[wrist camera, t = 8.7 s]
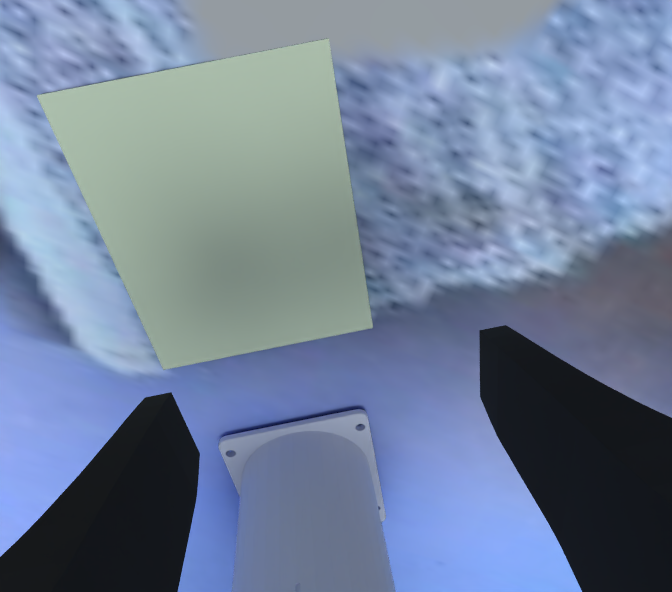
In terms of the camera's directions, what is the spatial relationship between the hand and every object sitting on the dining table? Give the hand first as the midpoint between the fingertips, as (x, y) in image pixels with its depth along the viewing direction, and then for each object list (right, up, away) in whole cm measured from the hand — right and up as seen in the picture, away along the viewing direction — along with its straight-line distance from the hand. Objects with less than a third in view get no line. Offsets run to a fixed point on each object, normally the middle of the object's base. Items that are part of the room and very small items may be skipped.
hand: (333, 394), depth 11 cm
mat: (-4, +5, +8) cm, 10 cm away
